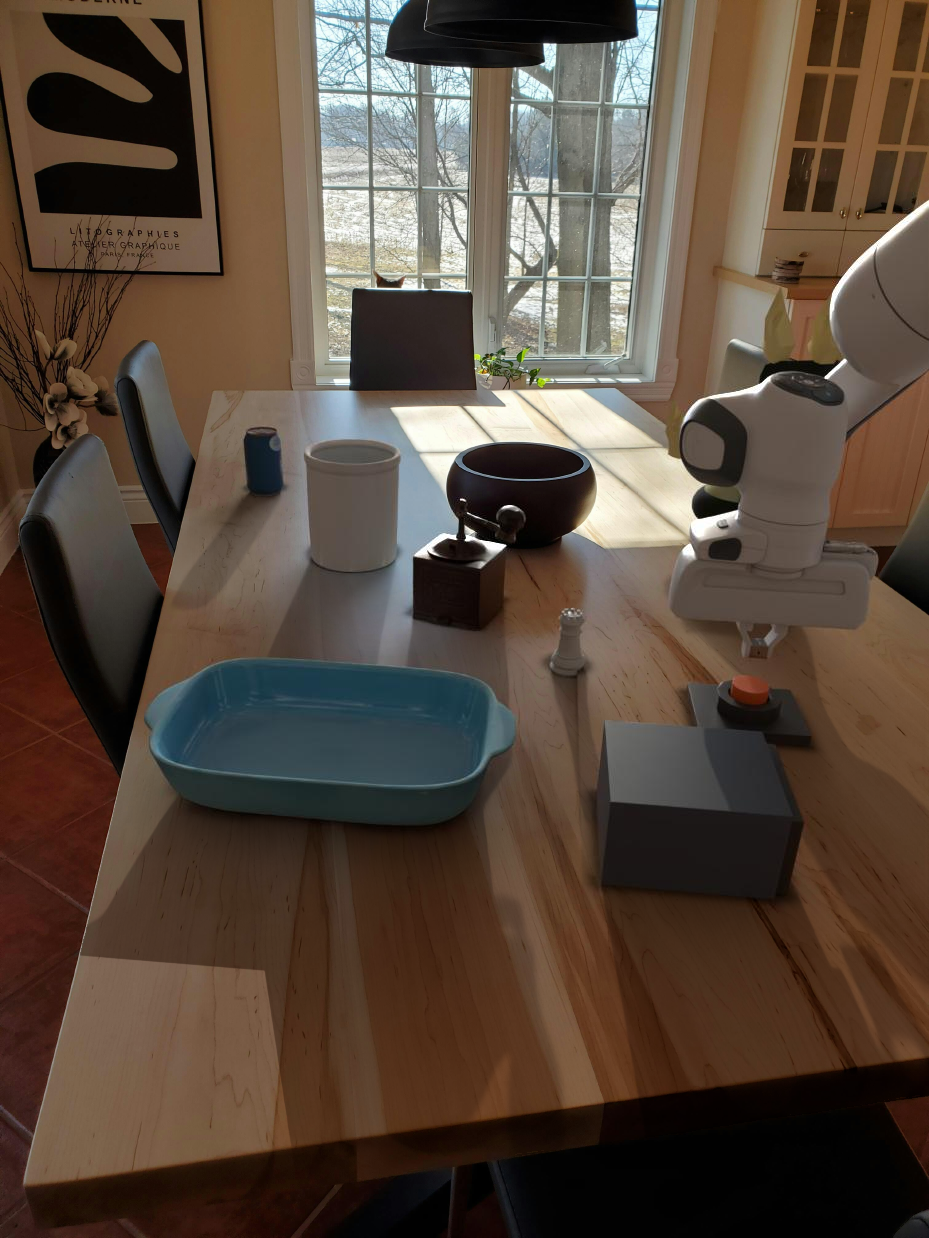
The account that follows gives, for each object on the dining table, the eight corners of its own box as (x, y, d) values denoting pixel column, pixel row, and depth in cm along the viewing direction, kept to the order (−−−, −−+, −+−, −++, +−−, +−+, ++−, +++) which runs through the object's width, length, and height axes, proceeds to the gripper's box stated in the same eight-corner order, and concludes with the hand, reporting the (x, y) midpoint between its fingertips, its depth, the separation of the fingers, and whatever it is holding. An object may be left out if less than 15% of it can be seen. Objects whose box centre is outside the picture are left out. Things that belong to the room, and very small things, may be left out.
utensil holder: (386, 536, 154) (385, 435, 146) (413, 568, 141) (413, 459, 134) (301, 545, 149) (295, 441, 141) (320, 579, 137) (315, 467, 129)
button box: (787, 705, 106) (793, 676, 105) (808, 753, 98) (815, 722, 96) (684, 698, 107) (689, 669, 106) (695, 744, 98) (700, 713, 97)
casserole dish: (516, 723, 101) (519, 668, 98) (509, 856, 81) (512, 791, 78) (196, 703, 104) (190, 648, 101) (113, 827, 84) (101, 764, 81)
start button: (763, 689, 103) (765, 676, 102) (770, 708, 99) (773, 694, 98) (727, 687, 103) (729, 674, 102) (733, 705, 99) (735, 691, 99)
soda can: (291, 492, 174) (287, 430, 169) (261, 499, 170) (256, 437, 164) (270, 484, 178) (265, 424, 173) (240, 491, 174) (235, 429, 169)
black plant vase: (748, 568, 145) (801, 270, 125) (839, 628, 126) (919, 287, 106) (643, 580, 139) (681, 270, 120) (722, 644, 120) (783, 288, 101)
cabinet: (745, 814, 88) (762, 731, 84) (772, 907, 76) (793, 816, 72) (595, 802, 89) (604, 719, 85) (600, 891, 78) (610, 801, 73)
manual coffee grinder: (407, 620, 125) (407, 496, 117) (439, 591, 134) (441, 474, 126) (513, 642, 119) (520, 513, 112) (538, 610, 129) (547, 489, 121)
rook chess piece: (560, 681, 110) (565, 622, 107) (543, 664, 114) (547, 608, 111) (591, 674, 112) (597, 617, 109) (573, 658, 116) (578, 602, 112)
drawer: (773, 812, 87) (788, 745, 83) (801, 896, 76) (819, 823, 73) (620, 800, 88) (628, 733, 84) (627, 881, 78) (637, 808, 74)
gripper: (872, 533, 94) (844, 649, 100) (675, 521, 96) (659, 637, 102) (892, 555, 89) (861, 677, 95) (683, 542, 90) (665, 663, 96)
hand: (755, 656), depth 98 cm, fingers closed
